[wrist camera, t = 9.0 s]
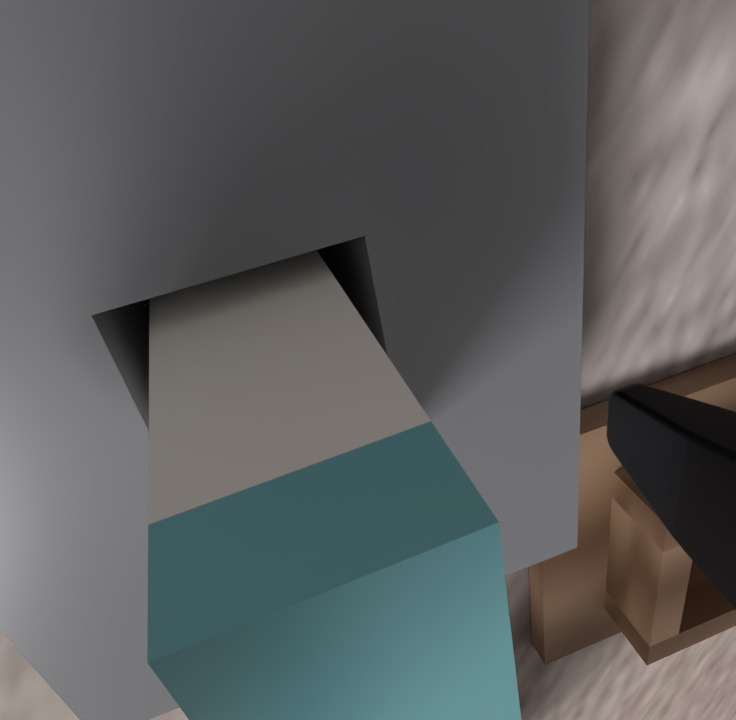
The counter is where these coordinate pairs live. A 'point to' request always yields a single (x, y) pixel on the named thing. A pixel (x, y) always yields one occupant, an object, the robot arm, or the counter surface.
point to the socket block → (271, 244)
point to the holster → (627, 553)
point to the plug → (310, 518)
